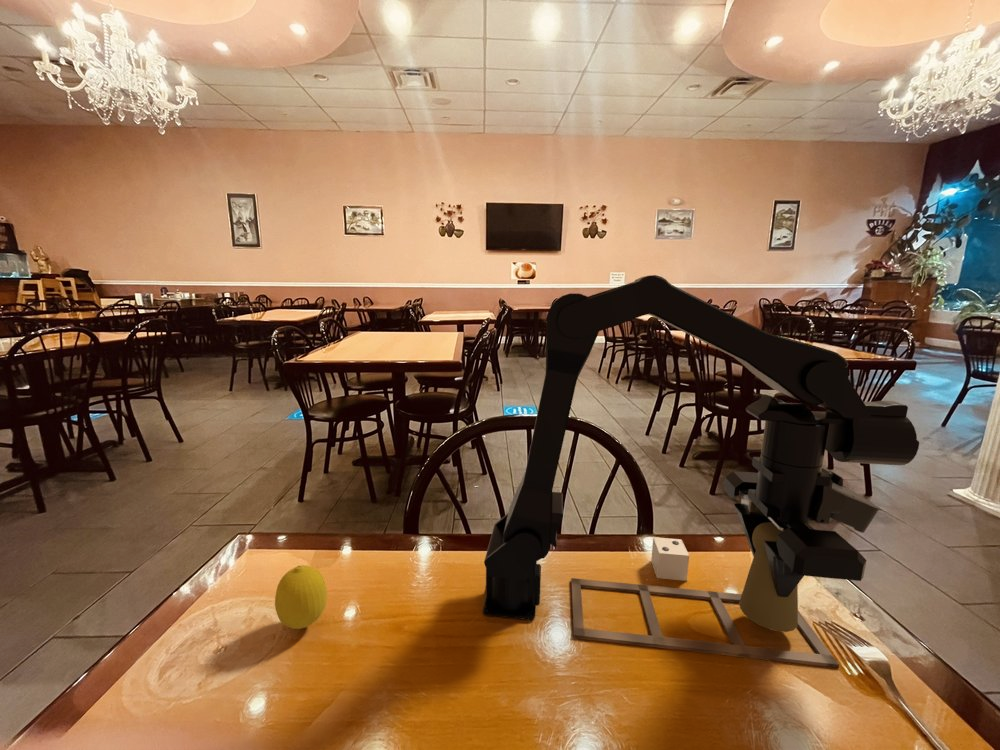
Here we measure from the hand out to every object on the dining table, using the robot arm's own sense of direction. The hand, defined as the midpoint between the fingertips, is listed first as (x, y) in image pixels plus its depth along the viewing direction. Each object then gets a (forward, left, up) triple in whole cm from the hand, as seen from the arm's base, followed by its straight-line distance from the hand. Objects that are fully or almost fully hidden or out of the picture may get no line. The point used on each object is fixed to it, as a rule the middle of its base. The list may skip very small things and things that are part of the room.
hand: (772, 582), depth 50 cm
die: (-9, +9, -6) cm, 14 cm away
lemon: (-55, -8, -6) cm, 56 cm away
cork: (0, 0, -4) cm, 4 cm away
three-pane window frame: (-9, 0, -6) cm, 11 cm away
